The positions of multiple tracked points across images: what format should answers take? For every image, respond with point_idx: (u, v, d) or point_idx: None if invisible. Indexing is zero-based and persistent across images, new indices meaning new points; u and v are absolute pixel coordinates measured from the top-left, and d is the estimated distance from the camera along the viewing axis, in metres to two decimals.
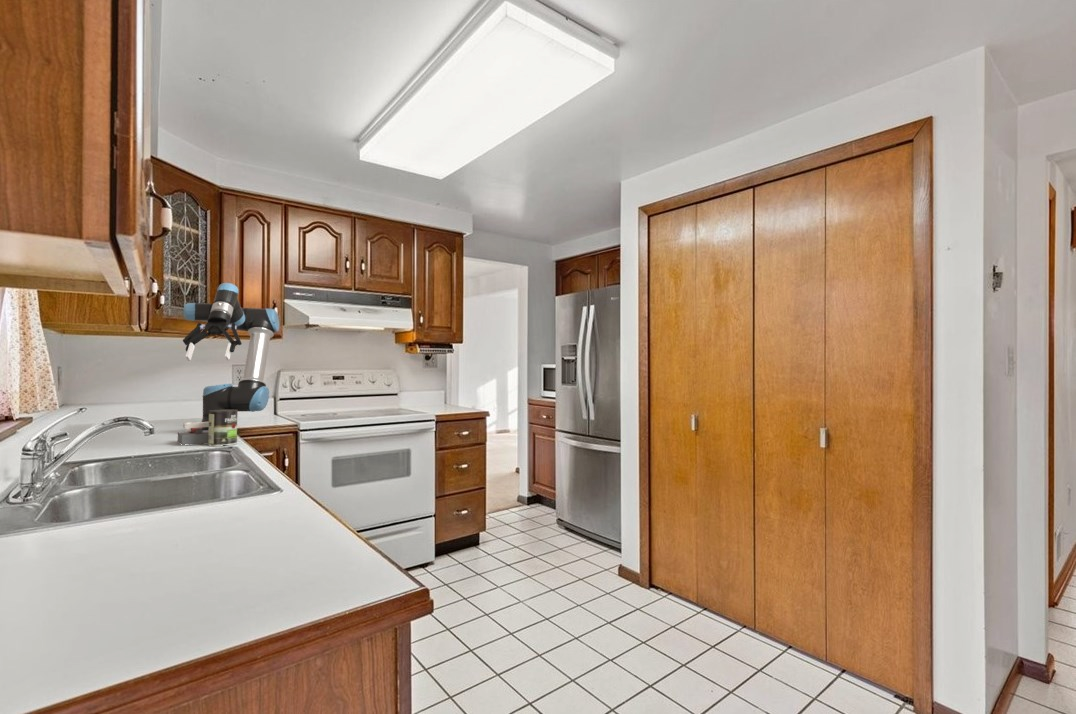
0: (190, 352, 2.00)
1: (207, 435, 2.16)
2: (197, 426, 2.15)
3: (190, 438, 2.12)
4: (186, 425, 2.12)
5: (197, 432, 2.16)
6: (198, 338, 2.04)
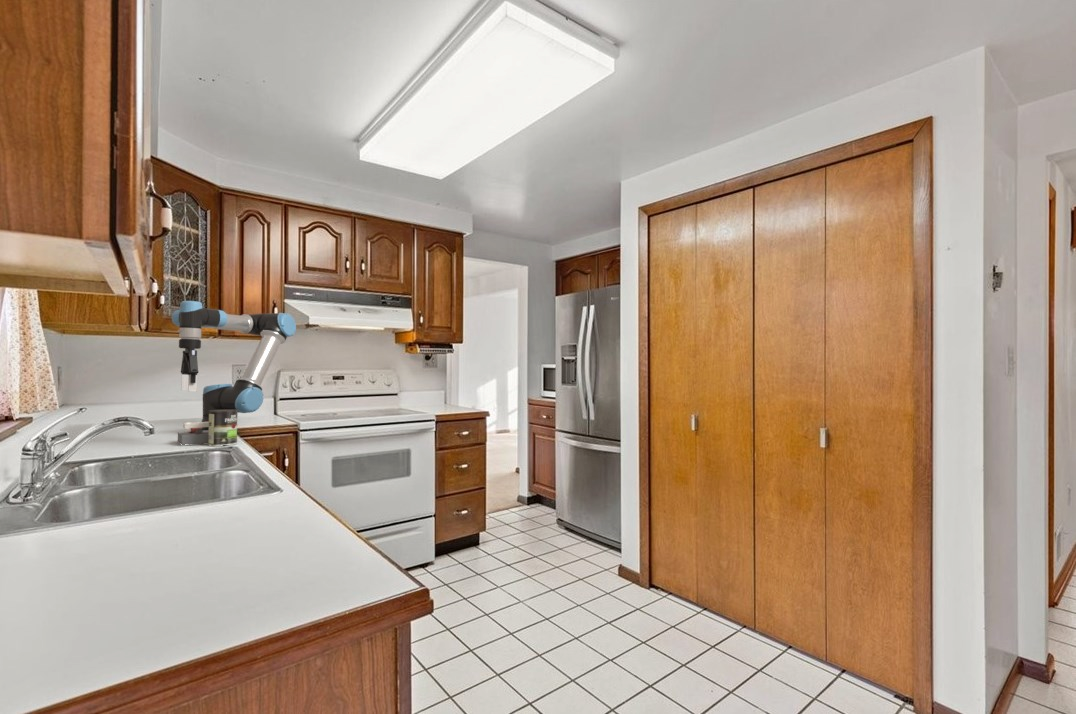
0: (184, 383, 2.18)
1: (207, 435, 2.16)
2: (197, 426, 2.15)
3: (190, 438, 2.12)
4: (186, 425, 2.12)
5: (197, 432, 2.16)
6: (185, 368, 2.18)
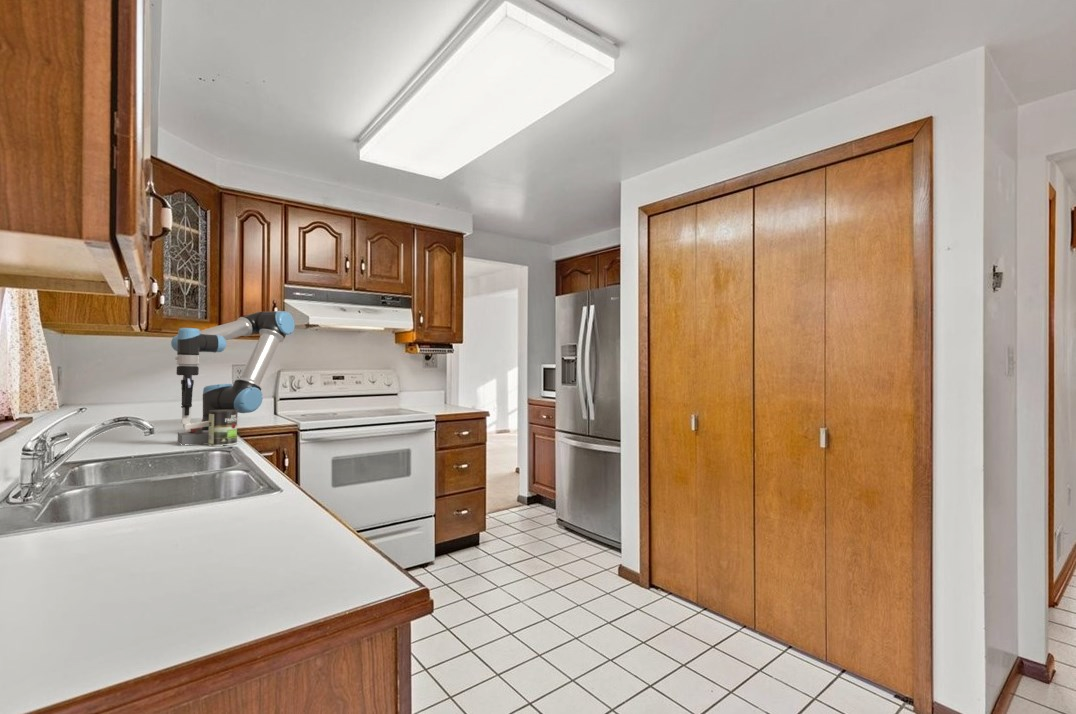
0: None
1: (207, 435, 2.16)
2: (197, 426, 2.15)
3: (190, 438, 2.12)
4: (186, 426, 2.12)
5: (197, 432, 2.16)
6: None
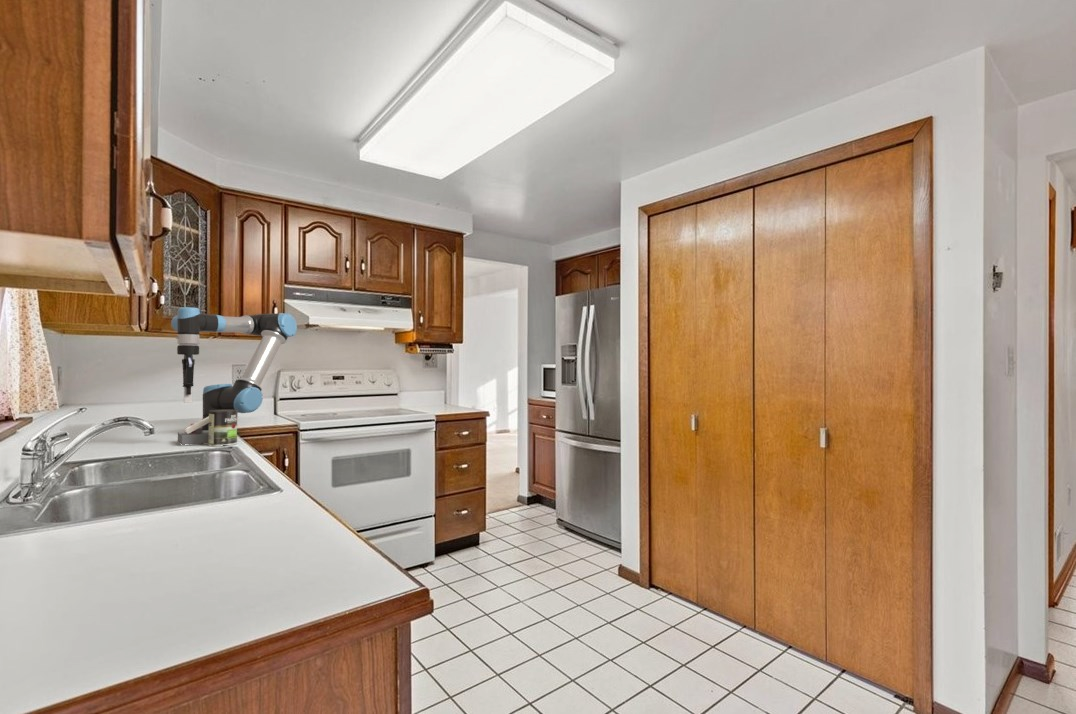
0: None
1: (207, 435, 2.16)
2: (198, 427, 2.15)
3: (190, 438, 2.12)
4: (187, 430, 2.13)
5: (197, 432, 2.16)
6: None
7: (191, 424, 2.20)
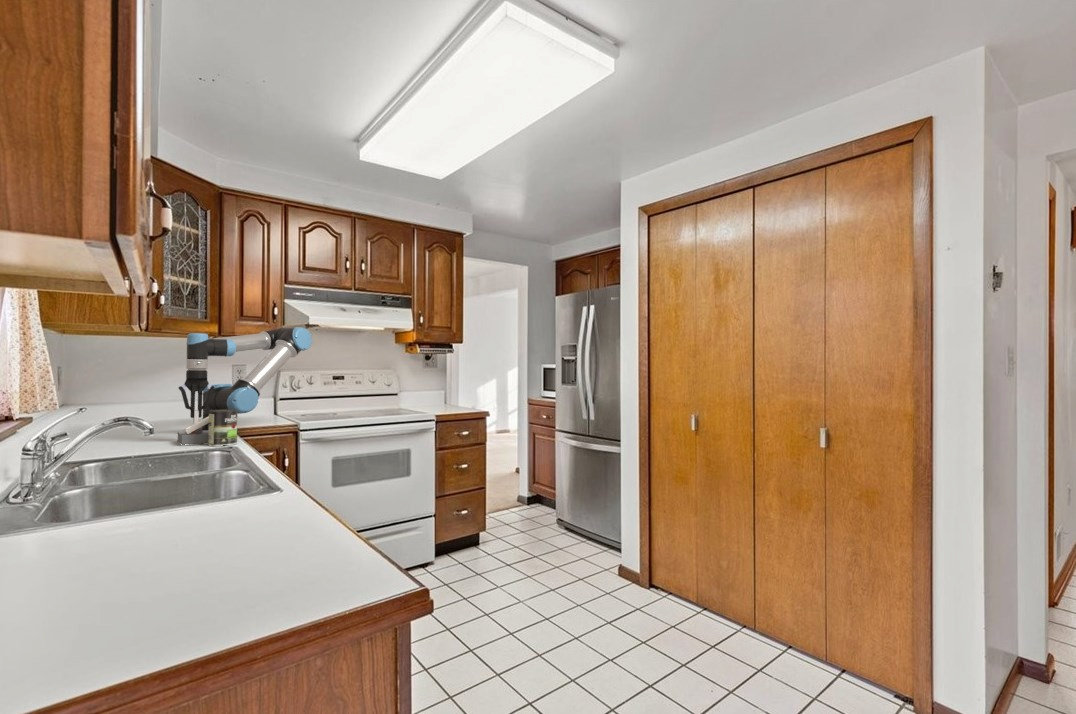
0: None
1: (207, 435, 2.16)
2: (198, 427, 2.15)
3: (190, 438, 2.12)
4: (187, 430, 2.13)
5: (197, 432, 2.16)
6: (194, 401, 2.21)
7: None
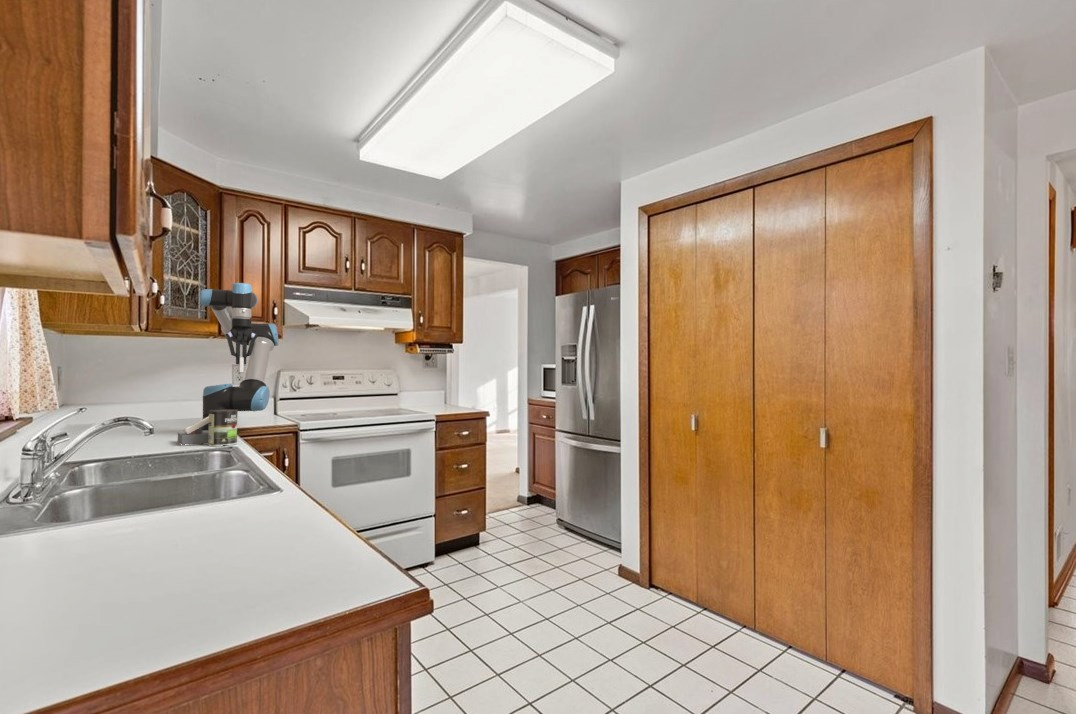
0: None
1: (207, 435, 2.16)
2: (198, 427, 2.15)
3: (190, 438, 2.12)
4: (187, 430, 2.13)
5: (197, 432, 2.16)
6: None
7: None
